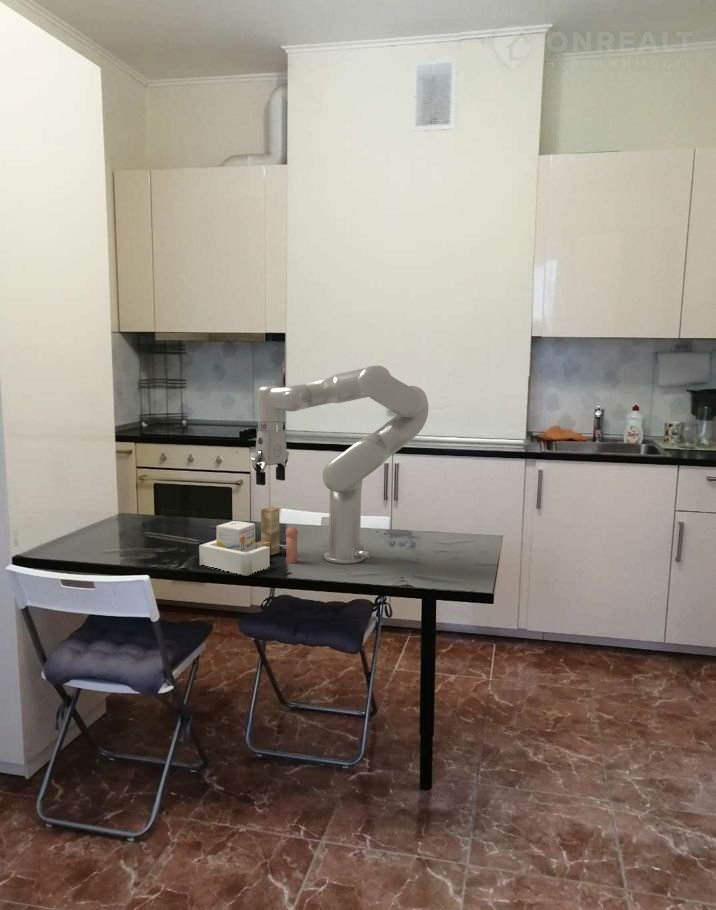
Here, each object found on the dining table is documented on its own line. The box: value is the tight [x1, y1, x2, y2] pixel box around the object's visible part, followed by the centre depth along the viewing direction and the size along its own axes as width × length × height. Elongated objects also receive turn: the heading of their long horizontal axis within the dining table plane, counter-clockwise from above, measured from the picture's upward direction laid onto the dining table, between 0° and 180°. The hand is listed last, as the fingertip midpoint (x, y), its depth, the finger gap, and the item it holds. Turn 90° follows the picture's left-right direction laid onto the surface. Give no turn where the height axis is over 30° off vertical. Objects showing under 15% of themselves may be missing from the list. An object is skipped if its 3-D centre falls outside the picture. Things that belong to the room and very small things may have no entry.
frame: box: [198, 539, 271, 577], centre depth 210 cm, size 18×10×6 cm, turn 58°
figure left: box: [285, 526, 299, 564], centre depth 215 cm, size 4×4×11 cm
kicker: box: [255, 506, 280, 556], centre depth 221 cm, size 10×11×14 cm
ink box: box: [215, 520, 256, 552], centre depth 214 cm, size 9×8×12 cm
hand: (270, 482), depth 222 cm, fingers open, 9 cm apart
